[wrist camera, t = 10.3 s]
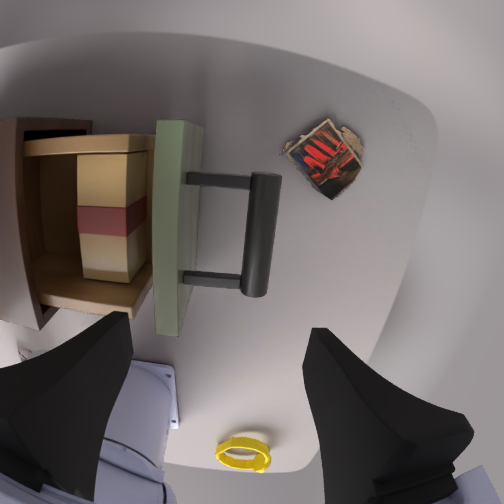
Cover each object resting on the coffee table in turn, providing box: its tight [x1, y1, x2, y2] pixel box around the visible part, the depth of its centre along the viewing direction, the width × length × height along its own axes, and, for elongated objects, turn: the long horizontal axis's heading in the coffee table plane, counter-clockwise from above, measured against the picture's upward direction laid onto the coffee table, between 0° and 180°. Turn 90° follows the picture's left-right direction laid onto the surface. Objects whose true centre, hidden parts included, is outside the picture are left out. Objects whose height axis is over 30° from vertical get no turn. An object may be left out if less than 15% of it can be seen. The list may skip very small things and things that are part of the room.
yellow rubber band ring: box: [215, 437, 271, 473], centre depth 28 cm, size 6×3×6 cm
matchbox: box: [279, 119, 364, 200], centre depth 18 cm, size 5×5×1 cm
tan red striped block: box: [77, 151, 148, 283], centre depth 16 cm, size 7×3×4 cm, turn 174°
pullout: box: [23, 119, 282, 337], centre depth 16 cm, size 17×10×7 cm, turn 84°
